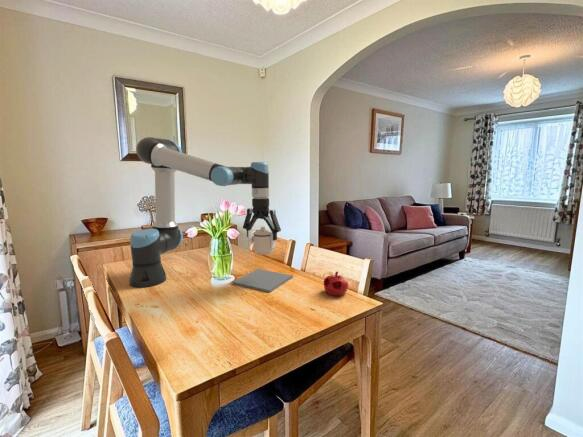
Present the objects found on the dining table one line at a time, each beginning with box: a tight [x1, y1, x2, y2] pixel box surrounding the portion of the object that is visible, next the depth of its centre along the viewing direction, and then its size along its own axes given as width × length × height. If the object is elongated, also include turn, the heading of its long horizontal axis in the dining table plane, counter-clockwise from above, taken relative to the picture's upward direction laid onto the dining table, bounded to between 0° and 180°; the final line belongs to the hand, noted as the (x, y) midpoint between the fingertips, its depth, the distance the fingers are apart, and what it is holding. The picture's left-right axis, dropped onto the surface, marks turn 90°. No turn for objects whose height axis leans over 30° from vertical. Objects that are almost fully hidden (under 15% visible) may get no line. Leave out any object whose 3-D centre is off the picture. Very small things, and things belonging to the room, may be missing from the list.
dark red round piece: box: [323, 271, 349, 297], centre depth 121 cm, size 10×10×9 cm
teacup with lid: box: [253, 226, 274, 256], centre depth 132 cm, size 12×9×12 cm
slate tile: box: [232, 268, 294, 293], centre depth 136 cm, size 20×20×1 cm
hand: (261, 245), depth 133 cm, fingers closed on teacup with lid, 12 cm apart
